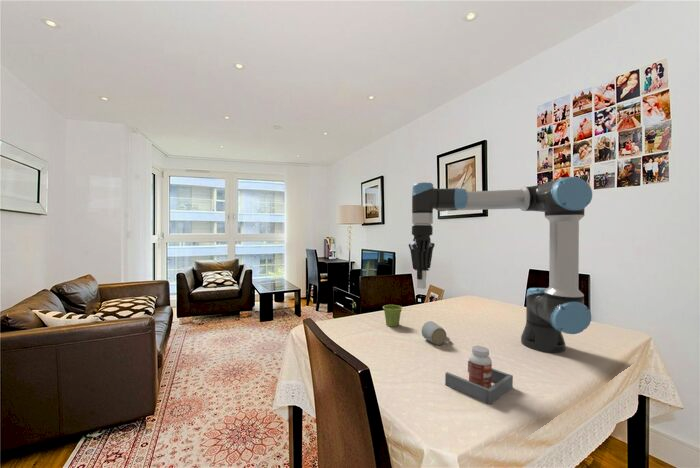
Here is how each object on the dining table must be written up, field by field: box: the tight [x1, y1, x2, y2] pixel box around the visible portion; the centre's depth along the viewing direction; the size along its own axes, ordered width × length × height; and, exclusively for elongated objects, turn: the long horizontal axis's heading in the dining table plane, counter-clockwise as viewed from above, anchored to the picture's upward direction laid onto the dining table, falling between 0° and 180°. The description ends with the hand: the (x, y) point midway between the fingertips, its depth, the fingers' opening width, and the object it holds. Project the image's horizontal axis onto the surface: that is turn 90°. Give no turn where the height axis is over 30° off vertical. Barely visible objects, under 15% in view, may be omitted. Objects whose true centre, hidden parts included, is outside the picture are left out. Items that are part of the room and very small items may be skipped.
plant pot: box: [382, 304, 403, 327], centre depth 149 cm, size 9×9×9 cm
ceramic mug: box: [421, 320, 451, 346], centre depth 127 cm, size 11×8×8 cm
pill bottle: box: [468, 345, 493, 389], centre depth 92 cm, size 6×6×11 cm
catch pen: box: [444, 360, 514, 405], centre depth 91 cm, size 14×14×4 cm
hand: (421, 287), depth 115 cm, fingers closed
